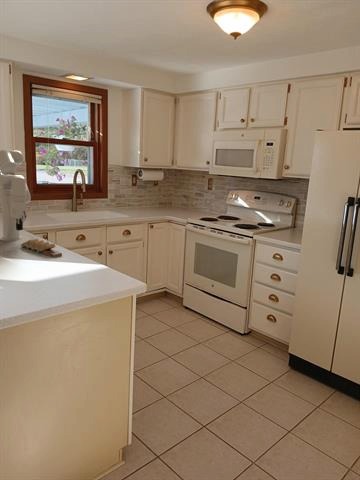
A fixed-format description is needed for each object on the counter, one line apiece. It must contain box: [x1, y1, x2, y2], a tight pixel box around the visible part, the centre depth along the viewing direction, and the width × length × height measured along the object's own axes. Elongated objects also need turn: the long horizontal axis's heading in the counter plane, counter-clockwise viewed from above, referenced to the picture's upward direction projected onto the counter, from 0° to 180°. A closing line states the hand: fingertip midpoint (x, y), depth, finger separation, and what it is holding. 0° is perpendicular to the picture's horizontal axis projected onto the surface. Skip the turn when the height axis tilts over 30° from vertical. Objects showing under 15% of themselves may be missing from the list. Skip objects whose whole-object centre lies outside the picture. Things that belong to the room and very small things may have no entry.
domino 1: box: [20, 238, 39, 247], centre depth 207 cm, size 2×5×10 cm
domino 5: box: [41, 248, 63, 258], centre depth 196 cm, size 2×5×10 cm
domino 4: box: [37, 243, 56, 252], centre depth 199 cm, size 2×5×10 cm
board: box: [16, 245, 43, 256], centre depth 206 cm, size 24×8×1 cm, turn 54°
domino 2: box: [26, 239, 45, 249], centre depth 204 cm, size 2×5×10 cm
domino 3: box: [31, 241, 50, 251], centre depth 202 cm, size 2×5×10 cm
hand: (19, 229), depth 212 cm, fingers closed
